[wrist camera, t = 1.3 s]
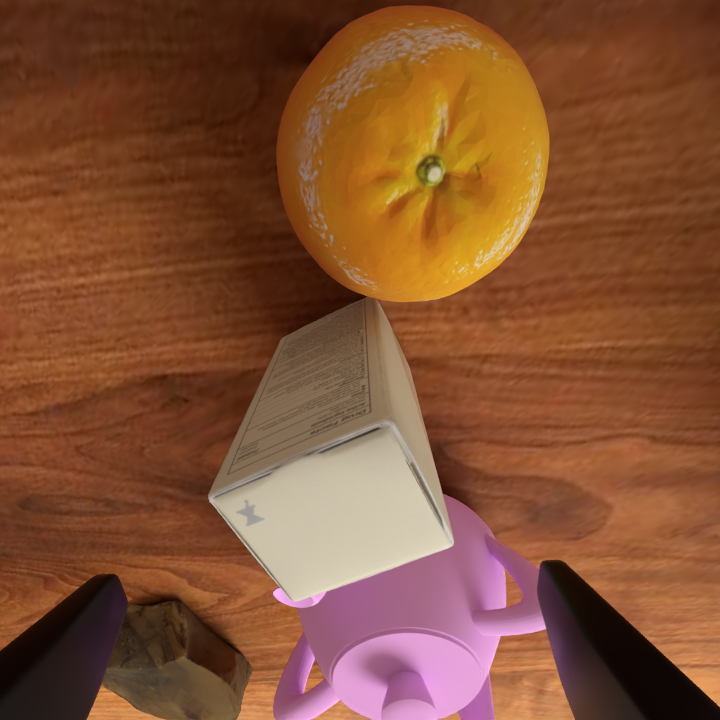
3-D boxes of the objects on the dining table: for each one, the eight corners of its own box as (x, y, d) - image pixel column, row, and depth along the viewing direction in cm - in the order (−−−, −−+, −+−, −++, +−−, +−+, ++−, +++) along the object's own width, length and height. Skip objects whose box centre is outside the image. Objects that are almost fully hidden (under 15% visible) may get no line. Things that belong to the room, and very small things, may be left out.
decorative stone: (138, 691, 33) (113, 748, 30) (71, 611, 29) (35, 667, 26) (267, 670, 32) (256, 727, 28) (214, 584, 28) (194, 638, 25)
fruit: (530, 328, 16) (533, 264, 9) (327, 313, 20) (204, 256, 12) (555, 113, 17) (578, -118, 9) (352, 131, 20) (249, -31, 12)
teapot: (306, 443, 23) (273, 593, 15) (550, 495, 24) (643, 661, 16) (270, 594, 28) (230, 770, 20) (476, 631, 29) (518, 812, 21)
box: (320, 407, 22) (281, 611, 12) (278, 335, 20) (190, 500, 10) (416, 367, 21) (461, 552, 11) (379, 288, 19) (391, 420, 9)
